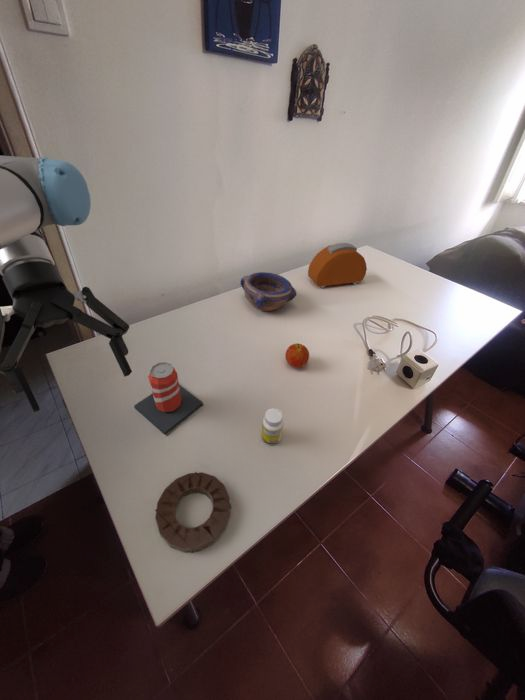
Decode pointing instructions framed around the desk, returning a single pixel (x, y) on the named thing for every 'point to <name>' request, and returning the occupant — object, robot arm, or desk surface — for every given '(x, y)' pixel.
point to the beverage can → (165, 387)
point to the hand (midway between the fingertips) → (86, 390)
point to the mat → (169, 419)
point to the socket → (204, 533)
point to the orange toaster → (337, 265)
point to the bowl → (267, 290)
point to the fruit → (297, 355)
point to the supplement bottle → (272, 426)
